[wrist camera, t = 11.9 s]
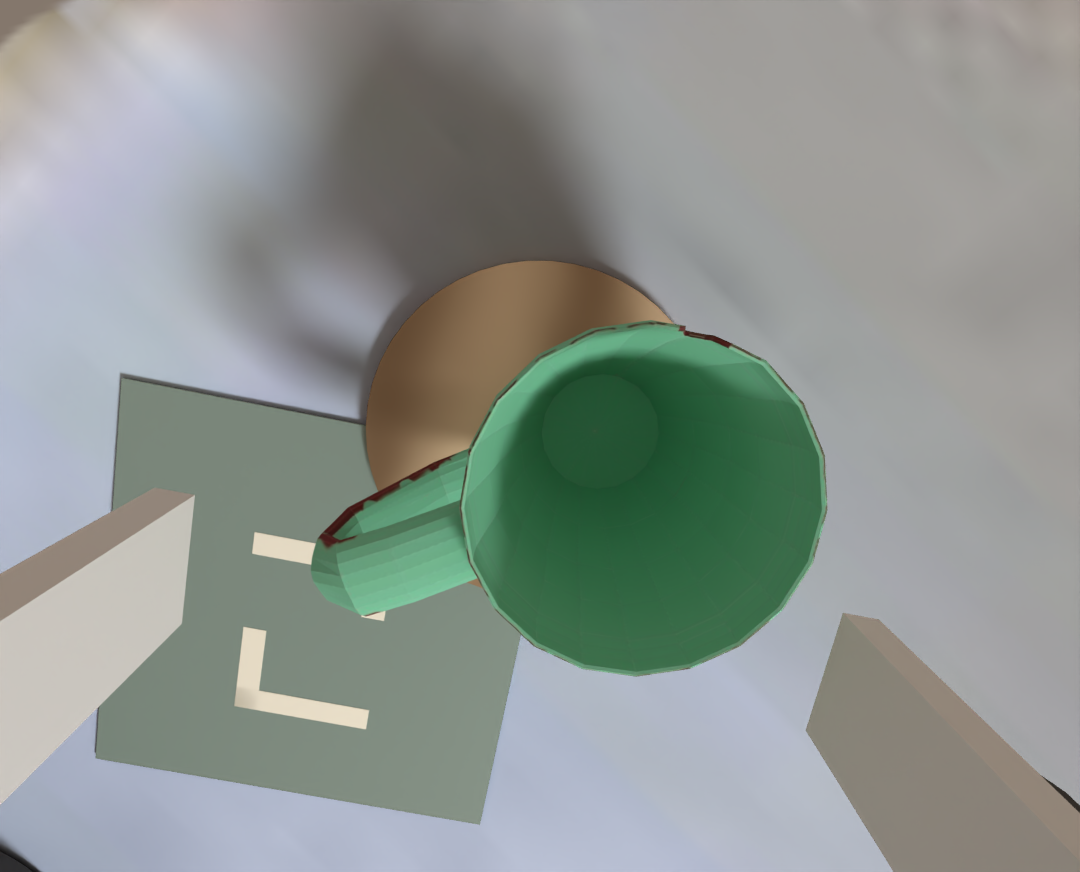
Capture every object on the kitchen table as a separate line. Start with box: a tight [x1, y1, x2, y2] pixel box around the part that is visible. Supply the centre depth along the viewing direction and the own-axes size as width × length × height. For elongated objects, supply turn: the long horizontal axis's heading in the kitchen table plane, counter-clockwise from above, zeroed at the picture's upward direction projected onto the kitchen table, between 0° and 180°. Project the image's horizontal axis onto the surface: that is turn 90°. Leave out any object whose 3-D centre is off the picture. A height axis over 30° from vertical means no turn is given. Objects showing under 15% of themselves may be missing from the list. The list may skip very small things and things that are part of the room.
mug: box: [310, 320, 827, 676], centre depth 23 cm, size 15×10×10 cm
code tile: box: [96, 378, 521, 825], centre depth 31 cm, size 18×18×1 cm
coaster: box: [366, 261, 673, 588], centre depth 29 cm, size 14×14×1 cm
